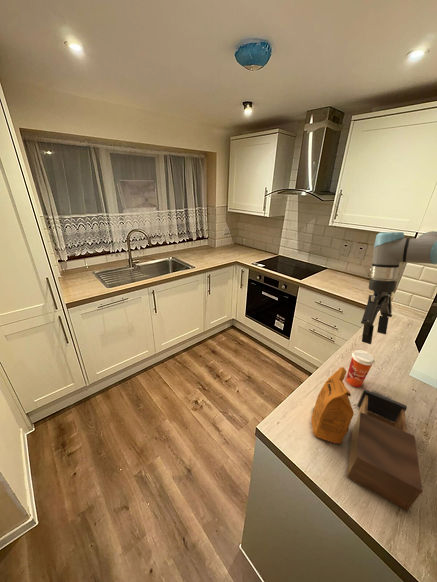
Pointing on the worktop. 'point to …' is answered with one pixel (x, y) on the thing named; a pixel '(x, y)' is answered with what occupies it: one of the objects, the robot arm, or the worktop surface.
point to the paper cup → (359, 367)
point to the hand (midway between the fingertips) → (374, 337)
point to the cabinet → (385, 461)
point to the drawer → (383, 408)
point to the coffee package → (332, 409)
